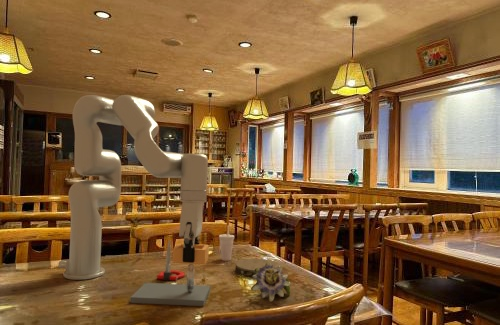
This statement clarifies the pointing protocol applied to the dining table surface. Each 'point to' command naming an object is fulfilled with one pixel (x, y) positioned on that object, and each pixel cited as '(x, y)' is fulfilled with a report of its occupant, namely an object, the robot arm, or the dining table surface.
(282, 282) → the passion flower
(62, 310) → the dining table surface
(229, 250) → the smoothie
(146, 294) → the board
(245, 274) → the wood slice
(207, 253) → the wooden masu cup
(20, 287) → the dining table surface
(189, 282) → the post
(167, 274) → the tow hook
